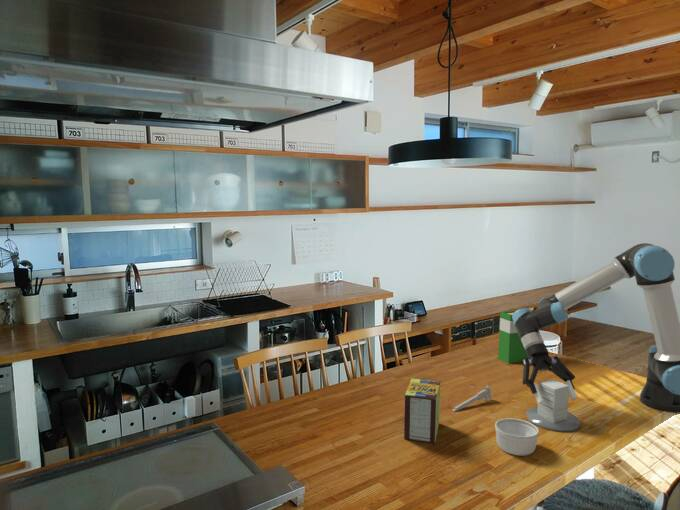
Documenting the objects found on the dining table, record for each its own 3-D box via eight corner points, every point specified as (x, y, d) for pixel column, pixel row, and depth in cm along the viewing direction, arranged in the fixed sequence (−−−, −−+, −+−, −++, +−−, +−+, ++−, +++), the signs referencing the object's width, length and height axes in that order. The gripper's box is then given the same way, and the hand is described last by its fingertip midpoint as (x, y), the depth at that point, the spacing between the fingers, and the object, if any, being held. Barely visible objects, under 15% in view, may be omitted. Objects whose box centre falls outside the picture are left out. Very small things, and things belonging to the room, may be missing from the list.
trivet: (585, 418, 178) (585, 415, 178) (573, 437, 164) (573, 434, 163) (534, 405, 189) (534, 402, 188) (519, 421, 174) (519, 419, 174)
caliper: (488, 399, 194) (488, 384, 193) (490, 400, 193) (491, 385, 193) (451, 411, 183) (452, 395, 182) (454, 412, 182) (454, 396, 181)
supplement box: (550, 411, 181) (552, 378, 179) (567, 419, 174) (569, 385, 173) (536, 415, 178) (538, 381, 176) (553, 423, 171) (555, 389, 170)
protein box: (439, 423, 173) (440, 381, 171) (435, 444, 158) (436, 398, 157) (410, 419, 176) (411, 377, 174) (403, 439, 161) (404, 394, 159)
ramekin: (503, 433, 166) (504, 414, 165) (543, 446, 158) (544, 425, 157) (487, 448, 156) (488, 428, 155) (529, 463, 147) (530, 441, 146)
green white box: (526, 355, 249) (528, 309, 246) (536, 359, 242) (539, 312, 240) (498, 358, 243) (500, 311, 240) (508, 363, 236) (510, 315, 233)
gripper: (558, 349, 191) (582, 401, 178) (501, 353, 186) (521, 407, 173) (568, 340, 185) (594, 393, 173) (509, 344, 180) (531, 399, 167)
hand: (557, 400), depth 173 cm, fingers open, 13 cm apart
